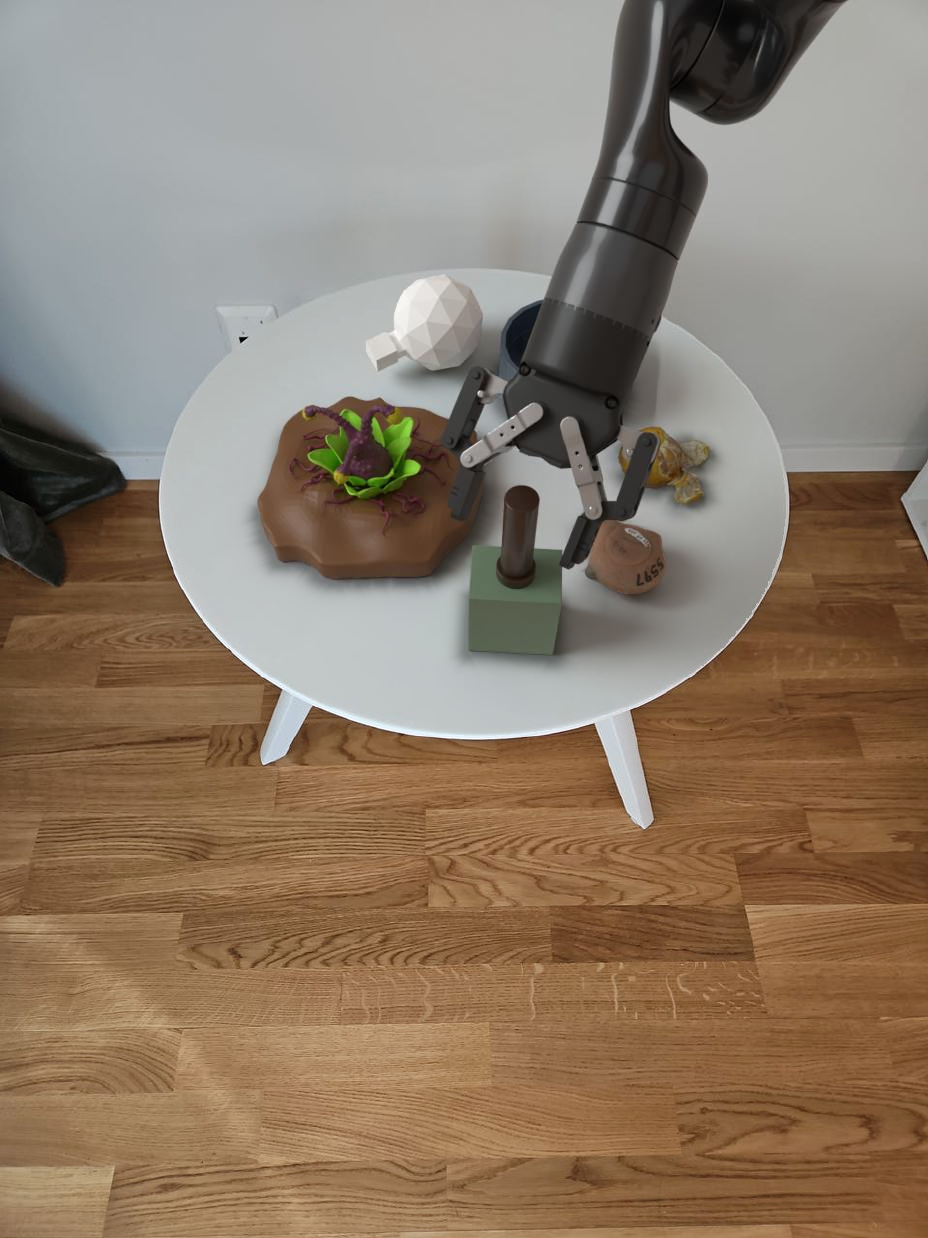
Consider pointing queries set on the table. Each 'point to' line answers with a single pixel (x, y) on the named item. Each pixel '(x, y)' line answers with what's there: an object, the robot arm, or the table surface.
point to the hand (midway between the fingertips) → (511, 542)
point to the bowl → (516, 339)
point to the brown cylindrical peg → (518, 537)
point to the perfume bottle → (431, 326)
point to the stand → (514, 605)
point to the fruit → (674, 465)
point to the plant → (363, 491)
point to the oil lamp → (626, 558)
